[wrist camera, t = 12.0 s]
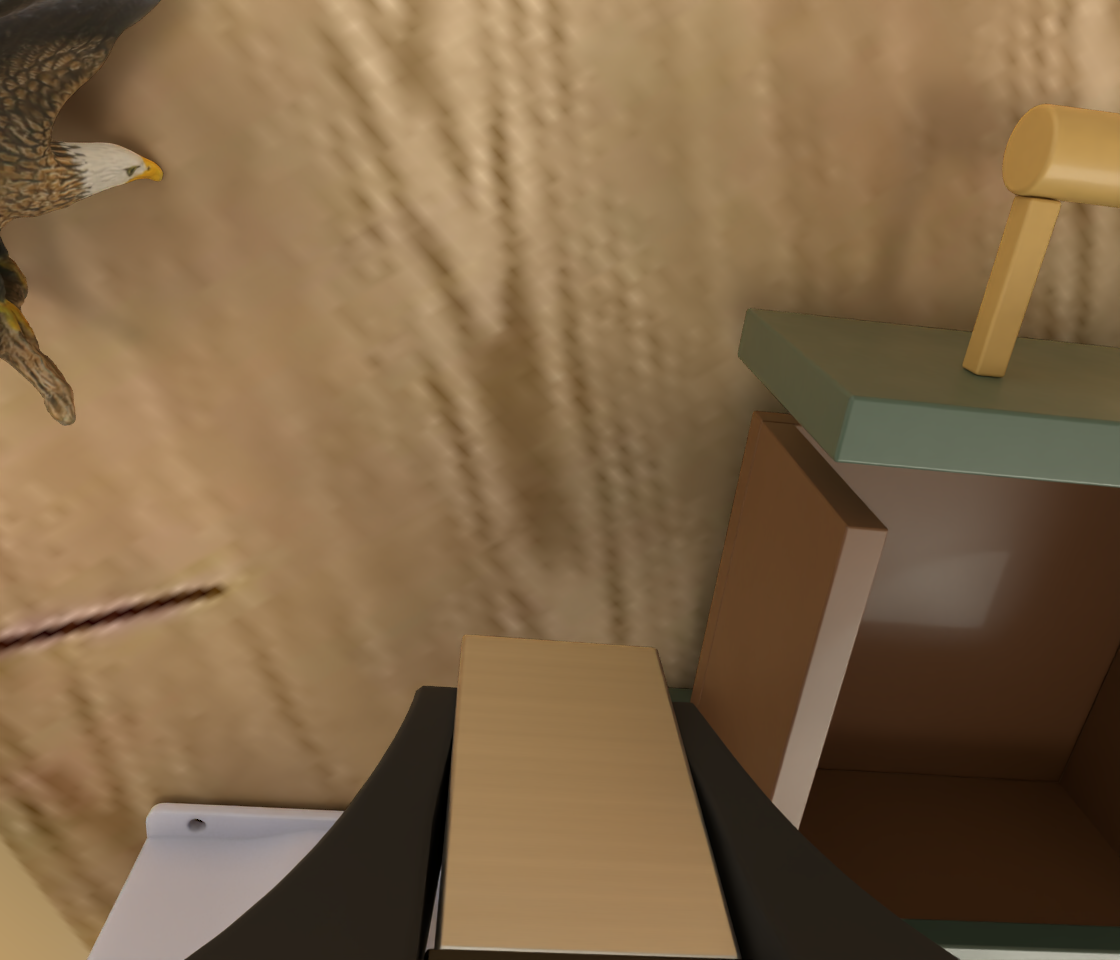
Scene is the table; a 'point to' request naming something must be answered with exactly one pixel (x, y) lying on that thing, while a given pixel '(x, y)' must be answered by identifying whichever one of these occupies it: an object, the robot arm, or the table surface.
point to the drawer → (938, 584)
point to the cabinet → (1007, 930)
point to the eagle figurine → (52, 148)
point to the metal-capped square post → (573, 812)
